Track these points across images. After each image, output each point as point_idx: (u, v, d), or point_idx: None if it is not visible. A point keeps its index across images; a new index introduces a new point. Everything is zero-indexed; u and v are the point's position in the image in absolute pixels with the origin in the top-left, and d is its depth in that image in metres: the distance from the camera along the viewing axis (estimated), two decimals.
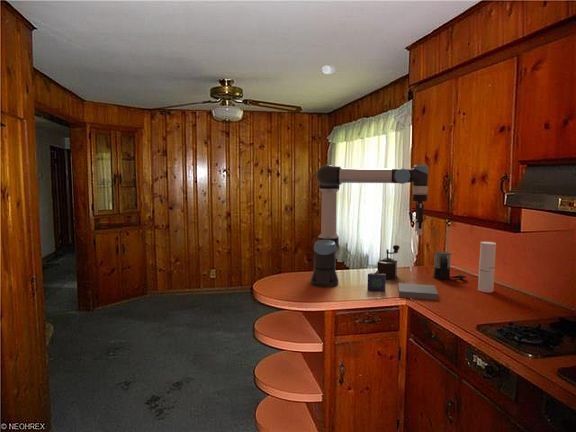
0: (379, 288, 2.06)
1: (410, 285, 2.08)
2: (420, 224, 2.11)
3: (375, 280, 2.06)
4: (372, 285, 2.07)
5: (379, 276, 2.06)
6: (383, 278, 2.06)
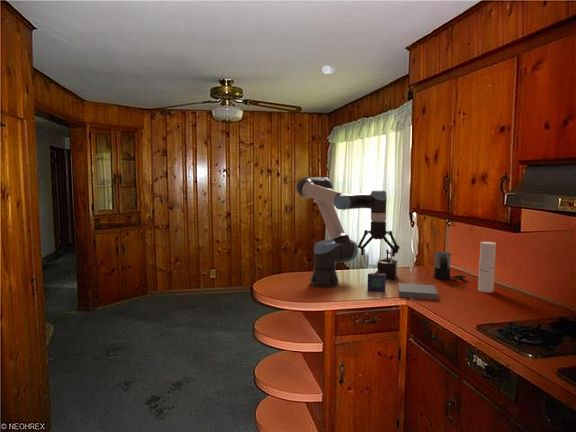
0: (379, 288, 2.06)
1: (410, 285, 2.08)
2: (361, 250, 2.07)
3: (375, 280, 2.06)
4: (372, 285, 2.07)
5: (379, 276, 2.06)
6: (383, 278, 2.06)
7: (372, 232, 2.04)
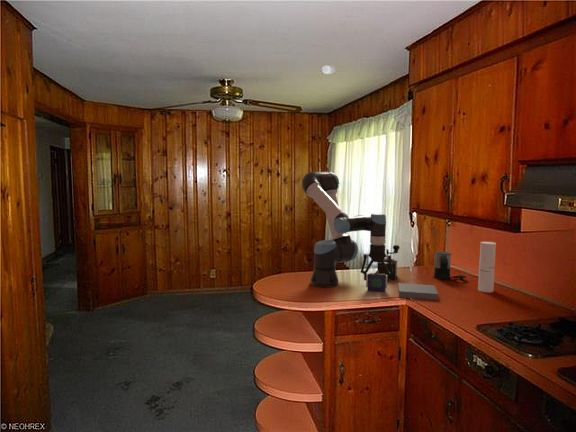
0: (379, 288, 2.06)
1: (410, 285, 2.08)
2: (364, 275, 2.09)
3: (375, 280, 2.06)
4: (372, 285, 2.07)
5: (379, 276, 2.06)
6: (383, 278, 2.06)
7: (371, 255, 2.06)
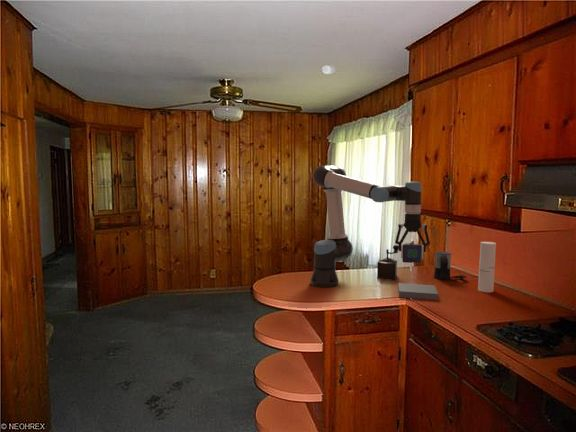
0: (415, 259, 2.00)
1: (410, 285, 2.08)
2: None
3: (410, 250, 2.00)
4: (407, 256, 2.00)
5: (415, 246, 1.99)
6: (419, 248, 2.00)
7: (406, 224, 1.99)
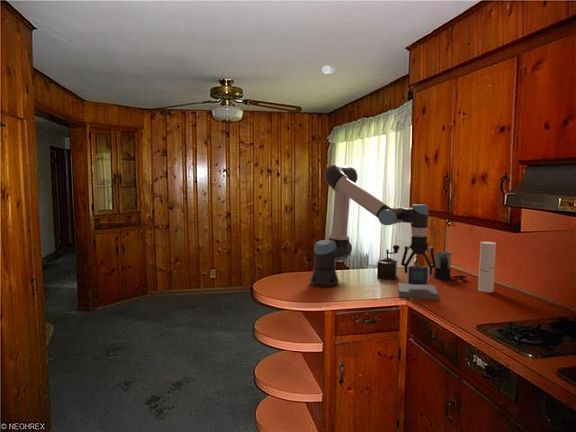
0: (421, 281, 2.01)
1: (410, 285, 2.08)
2: None
3: (416, 272, 2.00)
4: (413, 278, 2.01)
5: (421, 268, 2.00)
6: (425, 271, 2.00)
7: (413, 247, 2.00)
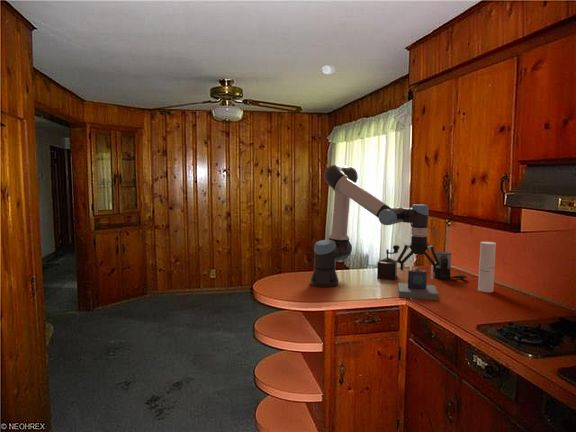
0: (421, 285, 2.01)
1: None
2: None
3: (416, 277, 2.01)
4: (413, 282, 2.01)
5: (420, 273, 2.00)
6: (424, 275, 2.01)
7: (413, 247, 2.00)
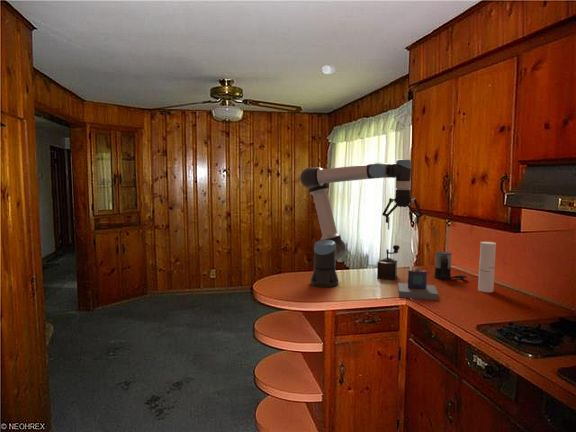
0: (421, 285, 2.01)
1: None
2: None
3: (416, 277, 2.01)
4: (413, 282, 2.01)
5: (420, 273, 2.00)
6: (424, 275, 2.01)
7: (397, 200, 2.11)
